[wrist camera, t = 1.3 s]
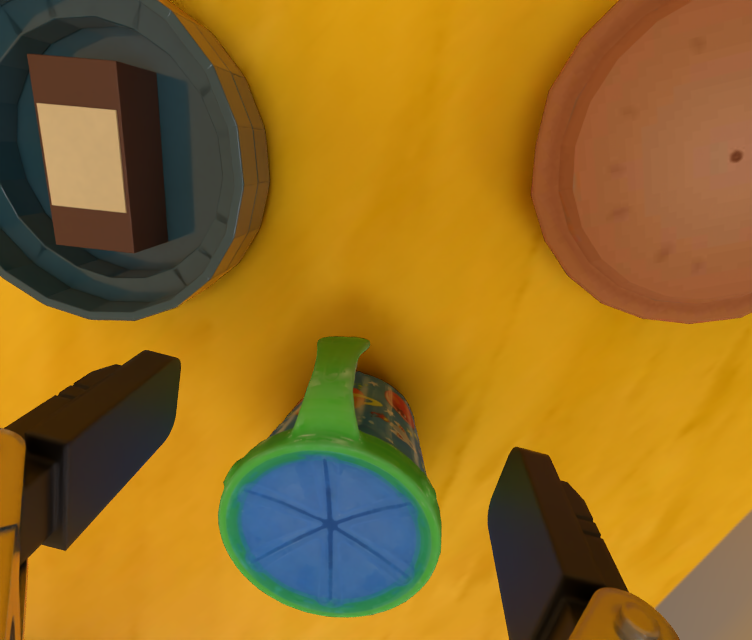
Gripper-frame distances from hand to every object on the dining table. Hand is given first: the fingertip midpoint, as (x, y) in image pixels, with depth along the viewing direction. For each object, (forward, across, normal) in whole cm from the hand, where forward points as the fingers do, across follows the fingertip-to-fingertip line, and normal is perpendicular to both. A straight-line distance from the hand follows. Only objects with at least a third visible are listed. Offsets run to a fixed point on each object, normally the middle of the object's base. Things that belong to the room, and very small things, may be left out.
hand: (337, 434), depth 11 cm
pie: (+17, -13, -10) cm, 23 cm away
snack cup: (+18, -1, +10) cm, 20 cm away
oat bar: (+17, +16, -3) cm, 23 cm away
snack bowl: (+18, +16, -3) cm, 24 cm away
